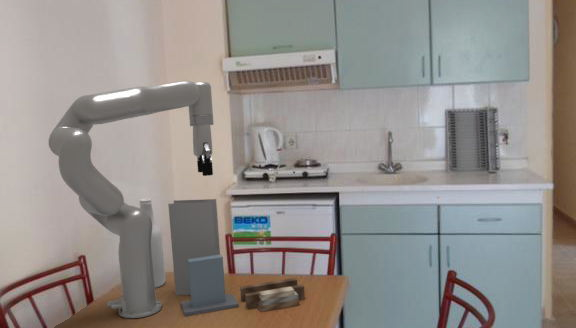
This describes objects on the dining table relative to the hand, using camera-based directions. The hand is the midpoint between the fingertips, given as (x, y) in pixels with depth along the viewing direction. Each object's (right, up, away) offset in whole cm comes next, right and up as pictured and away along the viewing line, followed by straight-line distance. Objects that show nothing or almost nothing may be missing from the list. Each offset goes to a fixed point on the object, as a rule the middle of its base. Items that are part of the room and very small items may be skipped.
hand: (205, 173), depth 169 cm
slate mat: (+3, -40, -12) cm, 42 cm away
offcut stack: (+24, -39, -15) cm, 48 cm away
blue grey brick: (+3, -39, -12) cm, 41 cm away
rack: (+22, -39, -9) cm, 45 cm away
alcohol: (-20, -39, +10) cm, 45 cm away
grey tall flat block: (-2, -39, +1) cm, 39 cm away
